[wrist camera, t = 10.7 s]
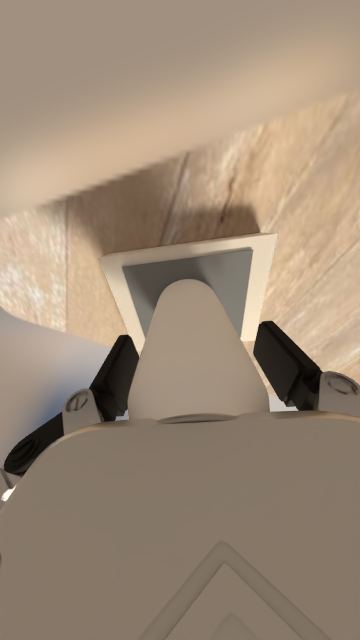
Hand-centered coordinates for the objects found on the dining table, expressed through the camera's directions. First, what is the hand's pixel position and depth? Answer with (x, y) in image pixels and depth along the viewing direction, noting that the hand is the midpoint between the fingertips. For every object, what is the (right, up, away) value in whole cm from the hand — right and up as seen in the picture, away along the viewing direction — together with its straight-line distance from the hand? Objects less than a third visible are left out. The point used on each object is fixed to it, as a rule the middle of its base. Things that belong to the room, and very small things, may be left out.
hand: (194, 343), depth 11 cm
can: (0, +3, +5) cm, 6 cm away
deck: (0, +5, +8) cm, 9 cm away
